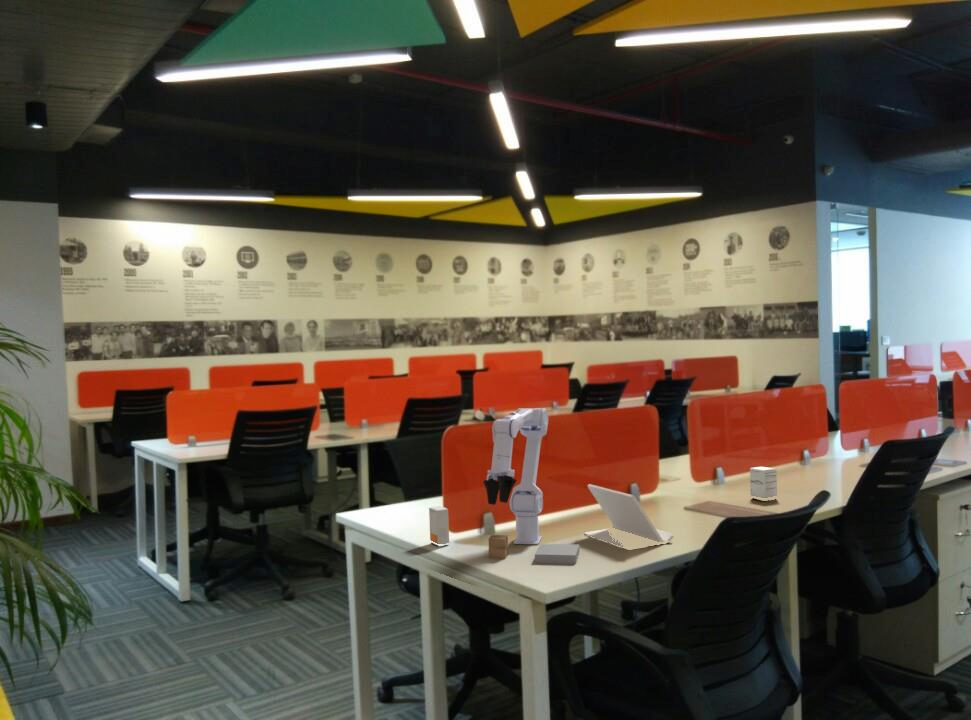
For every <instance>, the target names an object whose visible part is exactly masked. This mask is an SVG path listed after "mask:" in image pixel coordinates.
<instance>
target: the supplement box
mask: <svg viewBox="0 0 971 720" xmlns="http://www.w3.org/2000/svg"><path fill="white" fill-rule="evenodd" d="M777 474H778V471H777V468H773V467H766V466H755V467H750V468H749V483H750V484H749V485H750V487H749V488H750V489H749V491H750V495H751V496H756V497H761V498H768V497H773V496H777V497H778V477H777ZM751 496H750V497H751Z"/></svg>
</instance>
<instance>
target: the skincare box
mask: <svg viewBox="0 0 971 720" xmlns="http://www.w3.org/2000/svg"><path fill="white" fill-rule="evenodd" d="M428 514H429V515H428V516H429V541H430V540H431V541H433V542H435V543H437V544H446V543H449V544H450V529H449V528H450V527H449V526H450V525H449V523H450V522H449V509H448V508H446V507H445V506H440V505H438V506H430V507H428Z"/></svg>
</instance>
